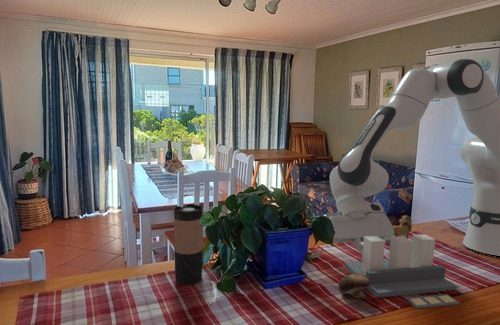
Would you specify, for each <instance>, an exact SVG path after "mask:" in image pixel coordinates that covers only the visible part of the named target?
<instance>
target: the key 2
mask: <svg viewBox="0 0 500 325" xmlns="http://www.w3.org/2000/svg"><path fill="white" fill-rule="evenodd" d="M411 241H412V251H411V264H410V268H414V267H428V266H434V256H435V246H436V244H435V243H436V238H434V237H431V235H430V236H429V235H428V234H413V235H412V240H411Z"/></svg>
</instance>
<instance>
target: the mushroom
mask: <svg viewBox="0 0 500 325" xmlns="http://www.w3.org/2000/svg"><path fill="white" fill-rule="evenodd" d="M369 285H370V280H369V279H368V278H367V277H365V276H363V275H361V274H352V273H351V274H347V275H346V276H344V277H343V278H341V279H340V281H339V282H338V285H337V286H338V290H339V292H340V293H341V294H348V295H352V296H353V298H356V299H368V297H367V295H366V294H365V293H364V292H365V288H367V287H368V286H369Z"/></svg>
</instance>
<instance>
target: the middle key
mask: <svg viewBox="0 0 500 325" xmlns="http://www.w3.org/2000/svg"><path fill="white" fill-rule="evenodd" d="M412 241H413V240H412V239H410V238H408V239H407V238H406V236H404V235H401V236H397V237H395V236H393V237H391V238H390V246H389V252H388V260H389V263H388V269H400V268H410V263H411V253H412Z"/></svg>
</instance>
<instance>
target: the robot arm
mask: <svg viewBox="0 0 500 325" xmlns="http://www.w3.org/2000/svg"><path fill="white" fill-rule="evenodd" d="M452 97H453V98H455V99H456V102H457V104H458V105H457V106H458V108H459V111H460V113H461V116H462V119H463V122H464V124H465V127H466V129H467V130H468V132H470V133H471V134H472V135H474V136H475V137H472V138H468V139H467V140H466V141H464V142H463V144H462V145H461V148H460V156H461V159H462V161H463V162H464V163H465V164H466V165H467V167H468V169H469V171H470V175H471V178H472V183H473V187H472V188H473V189H472V202H471V204H472V205H471V206H470V208H469V220H468V224H467V229H466V232H465V236H463V239H464V240H463V242H462V243H463V244H464V245H465V246H466V247H468V248H470V249H473V250H476V251H479V252H482V253H487V254H491V255H497V256H500V96H499V94H498V92H497V89H496V87H495V85H494V83H493V81H492V79H491V77H490V76H489V74H488V73H487V72H486V71H485V70H484V69H483V67H482V66H481V64H480V63H479V62H478V61H476V60H474V59H469V58H460V59H458V60H457V59H456V60H449V61H444V62H440V63H438V64H435V65H432V66H427V67H425V68H421V67H420V68H419V67H415V68H412V69H409V70H408V71H407V72H406V73H405V74H404V76H402V77H401V79H400V80H399V82H398V83H397V85H396V87H395V88H394V90H393V91H392V93H391V95H390V97H389V99H388V100H387V102H386V104H384V105H383V106H382V107H380V108H378V109H377V110H376V111H375V112H374V114H373V115H372V117H371V118H370V119H369V121H368V122H367V124H366V125H365V126H364V127H363V130H362V131H361V132H360V133H359V136H358V137H357V138H356V141H355V142H354V143H353V144H352V145H351V147H350V148H349V149H348V150H347V151H345V153H344V154H343V155H342V157H341V158H340V159H339V162H338V164H337V166H335V167H334V168H332V170H331V171H330V173H329V185H330V189H331V193H332V196H333V197H334V198H333V199H335V202H336V204H335V205H336V209H337V212H326V214H324V215H323V217H324V216H326V217H328V218H329V219H330V220H331V222H332V224H333V227H334V231H335V235H334V242H333V243H332V244H339V243H341V244H343V243H344V244H345V243H353V245H354V246H355V248H356V249H358V250H359V251H360V254H361V256H363V243H362V242H363V241H364V236H378V237H379V238H381V239H383V240H384V241H386V240H388V241H389V239H390V238H391V237H394V230H393V227H392V226H393V225H392V222H391V221H390V219H389V217H388V216H387V214H385V213H384V211H385V209H384V207H383V206H382V205H380V204H377V203H372V202H369V201H367V200H365V198H369V197H373V196H375V195H378V194H380V193H382V192H384V191H385V190H386V188H387V187H388V185H389V181H390V175H389V172H388V171H387V169H385V168H384V167H383V166H382V165H380V164H379V163H377V162H375V161H374V160H373V154H374V153H375V151H376V150H377V148H378V146H379V145H380V144H381V142H382V141H383V139H384V138H385V136H386V135H387V133H389V132H390V131H393V130H394V131H395V130H396V131H407V130H410V129H412V128H414V127H416V126H417V125H418V124H419V122H420V121H421V120H422V118H423V116H424V114H425V112H426V110H427V109H428V107H429V105H430V102H431V100H432V99H448V98H452ZM466 247H465V248H466Z"/></svg>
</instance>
